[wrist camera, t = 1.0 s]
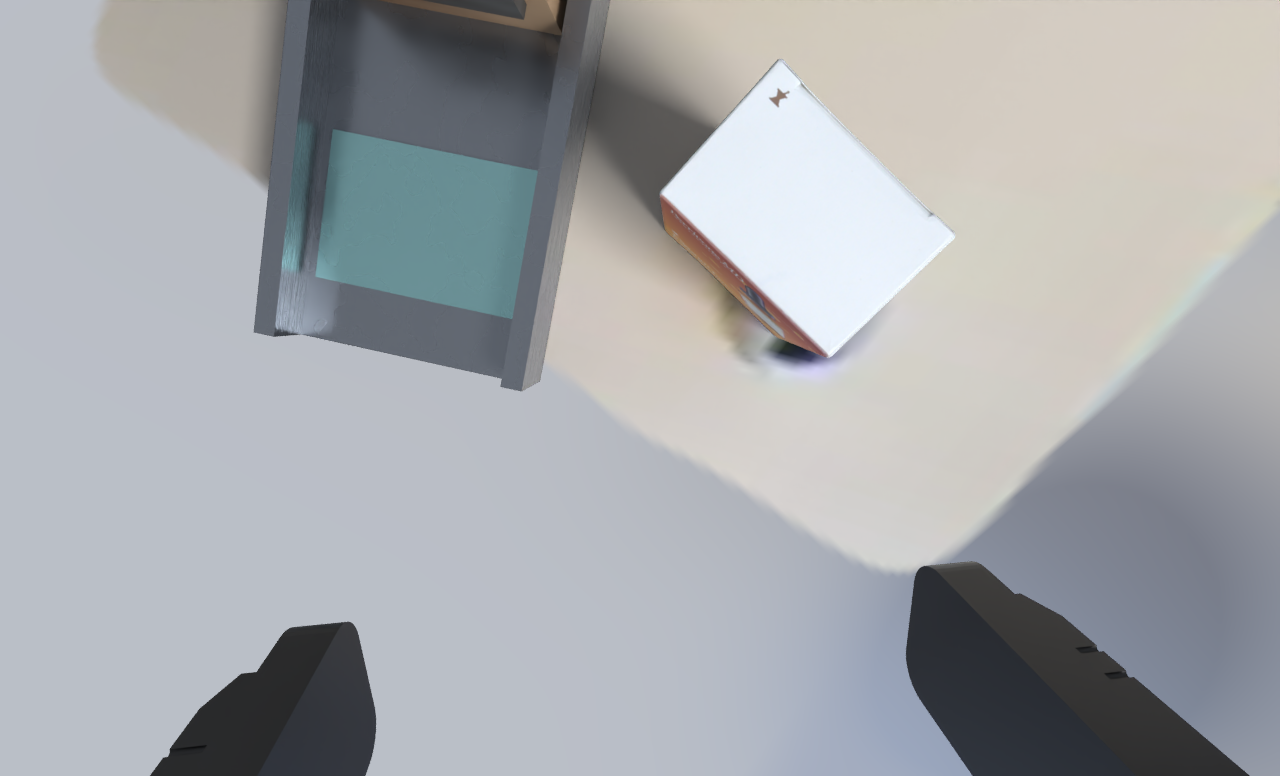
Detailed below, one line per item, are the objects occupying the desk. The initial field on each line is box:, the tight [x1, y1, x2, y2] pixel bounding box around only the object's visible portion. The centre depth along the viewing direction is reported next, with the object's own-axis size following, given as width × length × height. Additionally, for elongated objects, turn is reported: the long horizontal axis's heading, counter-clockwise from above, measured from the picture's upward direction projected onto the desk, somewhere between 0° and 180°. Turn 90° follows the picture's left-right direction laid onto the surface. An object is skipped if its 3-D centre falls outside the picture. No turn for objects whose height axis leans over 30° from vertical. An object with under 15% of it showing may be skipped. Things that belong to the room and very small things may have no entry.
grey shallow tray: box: [254, 0, 610, 391], centre depth 27 cm, size 26×13×4 cm, turn 168°
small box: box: [659, 59, 955, 358], centre depth 24 cm, size 8×6×10 cm
